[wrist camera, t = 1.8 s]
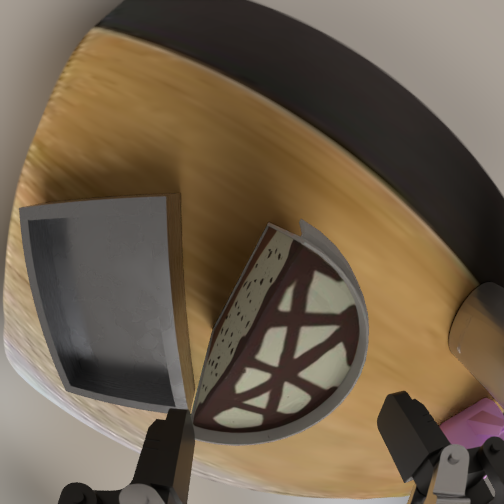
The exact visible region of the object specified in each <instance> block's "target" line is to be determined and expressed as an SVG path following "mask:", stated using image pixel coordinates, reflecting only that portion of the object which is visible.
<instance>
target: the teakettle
mask: <svg viewBox="0 0 504 504" xmlns="http://www.w3.org/2000/svg"><path fill="white" fill-rule="evenodd" d="M439 427H440V429H441V430H442V432H443V433H444V434H445V436H446V437H447V439H448V440H449V442H450V443H451V444H458V445H461V446H463V447H465V448H466V449H470V448H475V447H479V446H482V445H483V443H484V442H485V441H486V440H487V439H488V438H490V437H494V436H495V437H499V438H501V439H503V440H504V415H503V414H502V412H501V410H500V409H499V408H498V406H497V405H496V404H495V402H493V401H492V400H490V399H488V398H483V399H482V400H480V401H478V402H477V403H475V404H473V405H472V406H470V407H468V408H467V409H465V410H463V411H462V412H460V413H458V414H456V415H455V416H453V417H451V418H450V419H448V420H446V421H445V422H443V423H442V424H441V425H440V426H439ZM485 477H487V475H486V476H485ZM485 477H484V478H485ZM484 478H483V479H484Z"/></svg>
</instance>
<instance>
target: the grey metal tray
mask: <svg viewBox="0 0 504 504" xmlns="http://www.w3.org/2000/svg"><path fill="white" fill-rule="evenodd" d="M19 212H20V224H21V234H22V242H23V249H24V255H25V261H26V267H27V272H28V277H29V282H30V287H31V291H32V295H33V299H34V303H35V307H36V311H37V314H38V318H39V321H40V324H41V328H42V331H43V334H44V337H45V340H46V343H47V346H48V348H49V351H50V354H51V356H52V359H53V362H54V364H55V367H56V369H57V371H58V374H59V376H60V379H61V381H62V383H63V385H64V387H65V390H66V391H68V392H71V393H74V394H77V395H81V396H84V397H88V398H92V399H95V400H99V401H103V402H108V403H112V404H116V405H121V406H126V407H131V408H136V409H142V410H148V411H154V412H160V413H168V411H169V409H170V408H176V409H188V410H189V411H191V406H192V401H193V397H194V392H195V384H194V376H193V369H192V361H191V353H190V344H189V334H188V324H187V314H186V302H185V289H184V274H183V256H182V231H181V193H172V194H145V195H126V196H111V197H97V198H85V199H74V200H64V201H54V202H46V203H40V204H35V205H30V206H26V207H21V208H19Z"/></svg>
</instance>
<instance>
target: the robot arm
mask: <svg viewBox="0 0 504 504" xmlns="http://www.w3.org/2000/svg"><path fill="white" fill-rule="evenodd" d="M449 348H450V351H451V353H452V354H453V355H454V356H455V357H456V358H457V359H458V360H459V361H460V362H461V363H462V364H463V365H464V366H465V367H466V368H467V369H468V370H469V371H470V373H471V374H472V375H473V376H474V377H475V378H476V379H477V380H478V381H479V382H480V383H481V384H482V385H483V386H484V388H485V389H486V390H487V391H488V392H489V393H490V394H491V395H492V396H493V397H494V399H495V400H496V401H497V402H498V403H499V404H500V405H501V407H502V408H503V409H504V288H503V287H501V286H499V285H497V284H495V283H493V282H486V283H484V284H481V285H480V286H479V287H477V288H476V289H475V290H474V291H473V292H472V293H471V294H470V295H469V296H468V297H467V299H466V300H465V301H464V303H463V304H462V306H461V308H460V309H459V311H458V313H457V315H456V317H455V319H454V322H453V324H452V327H451V331H450V335H449ZM377 426H378V430H379V432H380V434H381V436H382V438H383V440H384V442H385V444H386V446H387V448H388V450H389V452H390V454H391V456H392V458H393V460H394V462H395V464H396V466H397V469H398V471H399V473H400V475H401V477H402V479H403V481H404V483H406V482H409V481H411V480H414V481H415V484H414V485H413V488H412V491H411V494H410V497H409V500H408V503H407V504H504V440H503V439H501V438H499V437H495V436H494V437H490V438H488V439H487V440H486V441H485V442H484V443H483V445H482V446H479V447H475V448H470V449H466V448H465V447H463V446H461V445H458V444H451V443H450V442H449V440H448V439H447V437H446V436H445V434H444V433H443V432H442V430H441V429H440V427H439V426H438V424H437V423H436V421H434V419H433V417H432V416H431V414H429V412H428V410H427V409H426V407H425V406H424V405H423V404H422V403H420V402H419V401H417V400H416V399H413V400H412V399H411V397H410V396H409V394H408V393H407V392H406V391H400V392H396V393H392V394H389V395H387V397H386V399H385V402H384V404H383V406H382V409H381V411H380V413H379V416H378V419H377ZM194 446H195V433H194V428H193V424H192V419H191V415H190V411H189V410H188V409H176V408H170V409H169V411H168V414H167V418H166V420H160V419H156V420H155V421H154V422H153V424H152V425H151V426H150V427H149V428H148V431H147V434H146V438H145V441H144V444H143V449H142V451H141V454H140V457H139V461H138V464H137V467H136V471H135V474H134V477H133V480H132V482H131V483H130V484H129V485H128V486H126V487H125V488H123V489H121V490H116V491H97V490H92V489H91V488H90V487H89V486H87V485H86V484H83V483H78V482H76V483H70V484H68V485H67V486H65V487H64V489H63V490H62V492H61V495H60V498H59V501H58V504H187V499H188V491H189V483H190V476H191V468H192V461H193V453H194ZM486 475H487V477H488V479H489V480H490V482H491V484H492V486H493V488H494V489H495V497H493V496H492V494H491V492H490V490H489V488H488V487H487V485H486V483H485V481H484V479H483V478H484V477H485V476H486Z"/></svg>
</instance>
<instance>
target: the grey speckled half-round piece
mask: <svg viewBox="0 0 504 504" xmlns="http://www.w3.org/2000/svg"><path fill="white" fill-rule="evenodd" d="M299 224H300V228H301V232H302V235H301V236H298V235H296V234H293V233H291V232H289V231H287V230H285V229H283V228H280V227H278V226H276V225H274V224H272V223H270V222H268V224H267V226H266V228H265V230H264V232H263V234H262V236H261V238H260V240H259V241H258V243H257V245H256V247H255V249H254V251H253V253H252V255H251V257H250V259H249V261H248V263H247V265H246V266H245V268H244V270H243V272H242V274H241V276H240V278H239V280H238V282H237V284H236V286H235V288H234V289H233V291H232V293H231V295H230V297H229V299H228V301H227V303H226V305H225V307H224V309H223V311H222V312H221V314H220V316H219V318H218V320H217V322H216V324H215V326H214V328H213V330H212V334H211V338H210V341H209V345H208V349H207V353H206V357H205V361H204V365H203V369H202V373H201V377H200V381H199V385H198V389H197V393H196V397H195V401H194V405H193V409H192V413H191V414H190V415H191V419H192V424H193V428H194V433H195V440H198V441H202V442H207V443H213V444H219V445H234V446H239V445H256V444H263V443H269V442H273V441H277V440H281V439H284V438H287V437H290V436H292V435H295V434H298V433H300V432H302V431H304V430H306V429H308V428H310V427H312V426H313V425H315V424H317V423H318V422H320V421H321V420H322V419H324V418H325V417H327V416H328V415H329V414H331V413H332V412H333V411H334V410H335V409H336V408H337V407H338V406H339V405H340V404H341V403H342V402H343V401H344V399H345V398H346V397H347V396H348V394H349V393H350V392H351V390H352V389H353V387H354V386H355V384H356V382H357V380H358V378H359V376H360V374H361V372H362V369H363V366H364V363H365V360H366V355H367V349H368V336H369V323H368V313H367V308H366V304H365V300H364V296H363V294H362V291H361V289H360V287H359V284H358V282H357V279H356V277H355V275H354V273H353V271H352V269H351V267H350V265H349V263H348V262H347V260H346V259H345V258H344V256H343V255H342V254H341V252H340V251H339V250H338V248H337V247H336V246H335V245H334V244H333V243H332V242H331V241H330V240H329V239H328V238H327V237H326V236H325V235H323V234H322V233H321V232H320V231H319V230H318V229H316V228H315V227H313V226H312V225H310V224H308V223H307V222H305V221H304V220H302V219H301V220H300V221H299Z"/></svg>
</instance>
